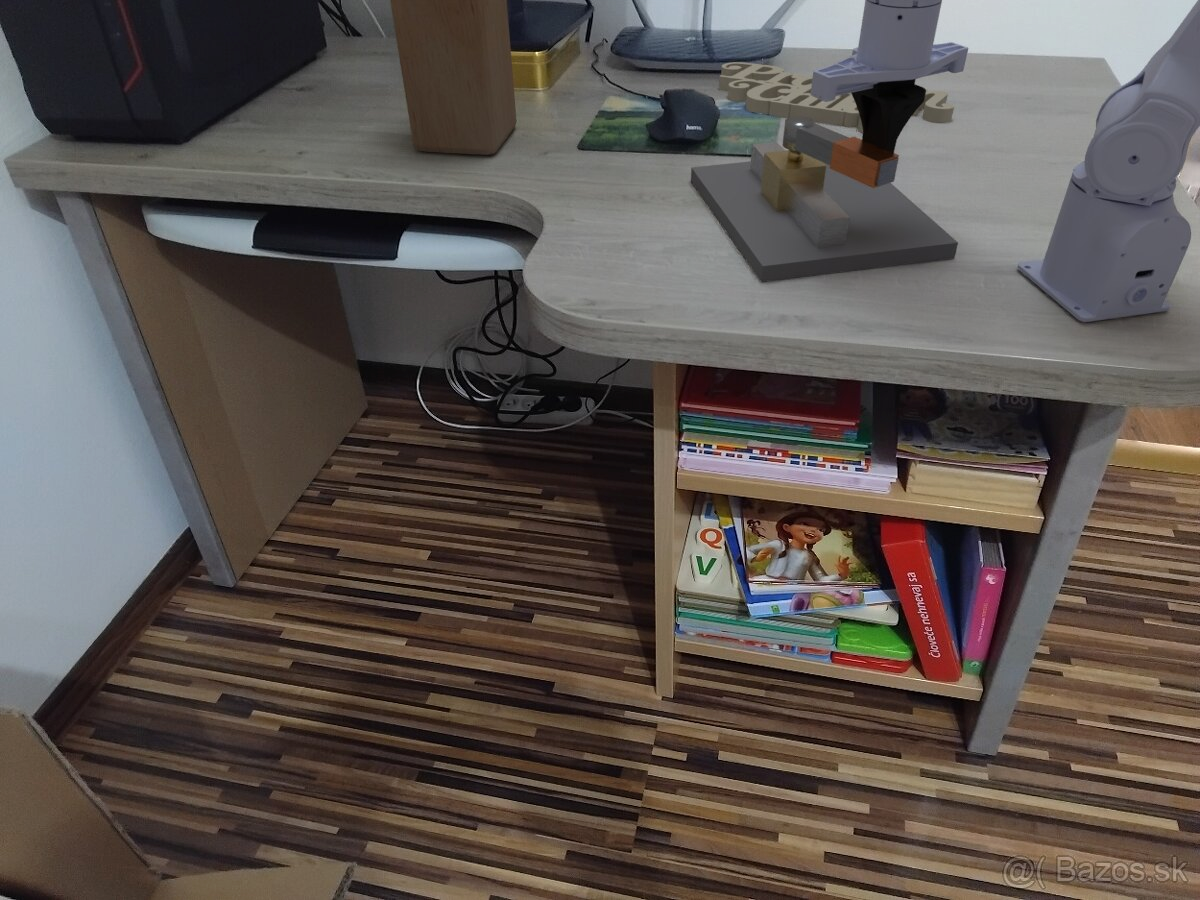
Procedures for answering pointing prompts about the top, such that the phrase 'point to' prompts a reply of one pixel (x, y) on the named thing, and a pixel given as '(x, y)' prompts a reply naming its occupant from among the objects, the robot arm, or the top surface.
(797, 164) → the ball valve
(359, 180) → the top surface
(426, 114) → the block
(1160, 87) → the robot arm
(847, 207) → the mounting board
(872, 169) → the valve lever
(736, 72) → the decorative sign
